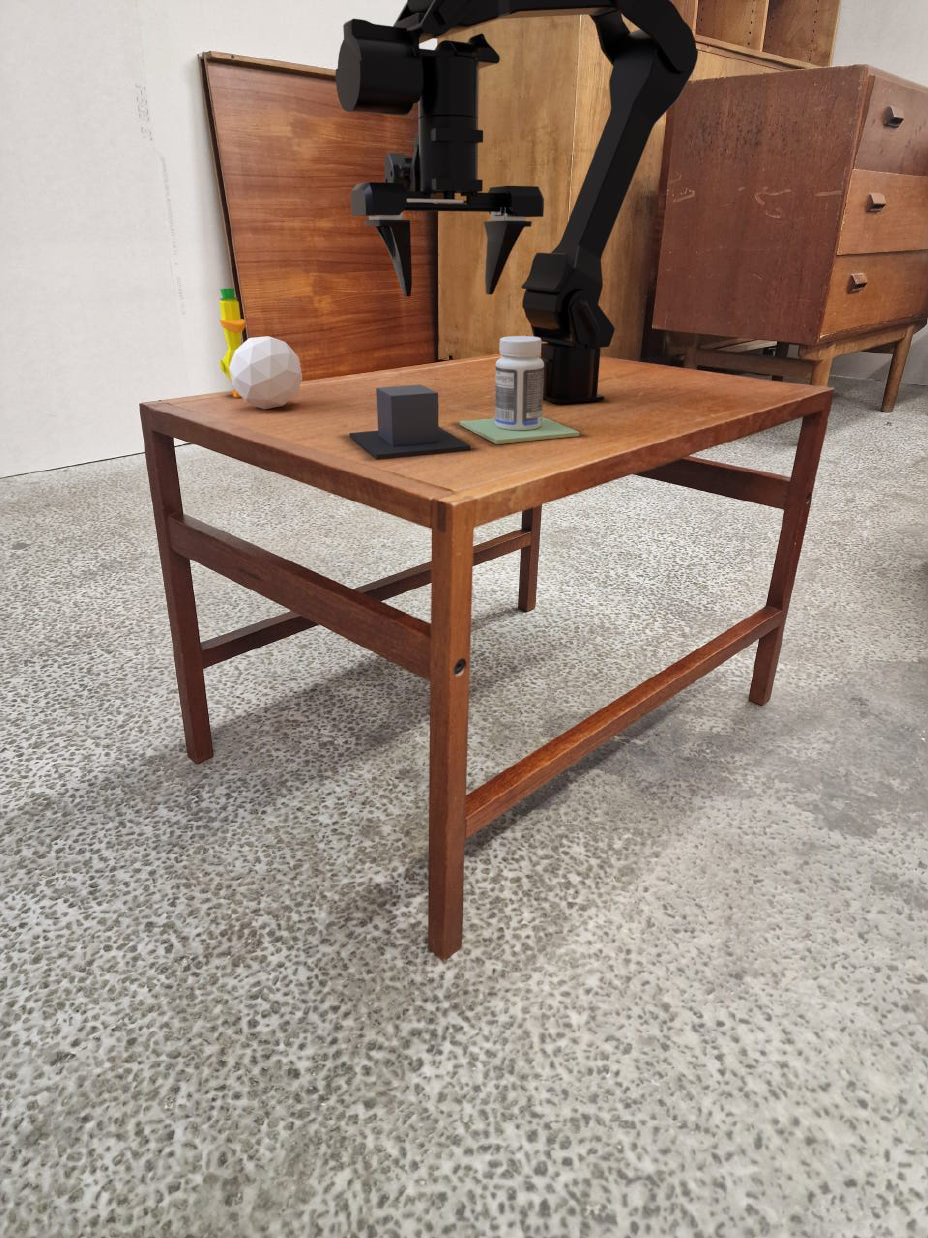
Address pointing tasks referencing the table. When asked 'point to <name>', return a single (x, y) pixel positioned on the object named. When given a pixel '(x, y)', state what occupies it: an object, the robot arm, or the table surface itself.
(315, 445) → the table surface
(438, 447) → the charcoal mat
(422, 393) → the slate block
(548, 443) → the table surface
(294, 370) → the geometric ball
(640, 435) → the table surface
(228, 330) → the toy figure
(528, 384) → the pill bottle
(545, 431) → the sage mat
